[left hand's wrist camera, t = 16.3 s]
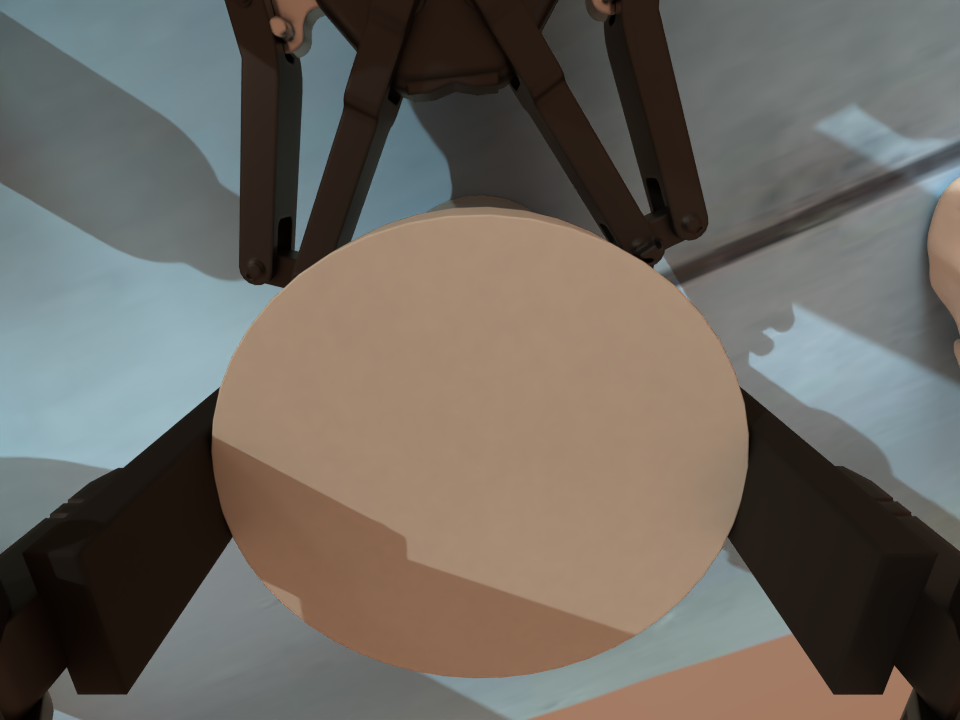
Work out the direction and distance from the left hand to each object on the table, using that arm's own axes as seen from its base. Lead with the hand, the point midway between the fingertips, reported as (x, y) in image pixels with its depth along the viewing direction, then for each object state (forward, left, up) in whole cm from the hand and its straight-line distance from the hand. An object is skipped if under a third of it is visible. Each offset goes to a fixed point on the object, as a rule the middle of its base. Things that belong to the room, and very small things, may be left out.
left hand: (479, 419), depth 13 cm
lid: (0, 0, +3) cm, 3 cm away
